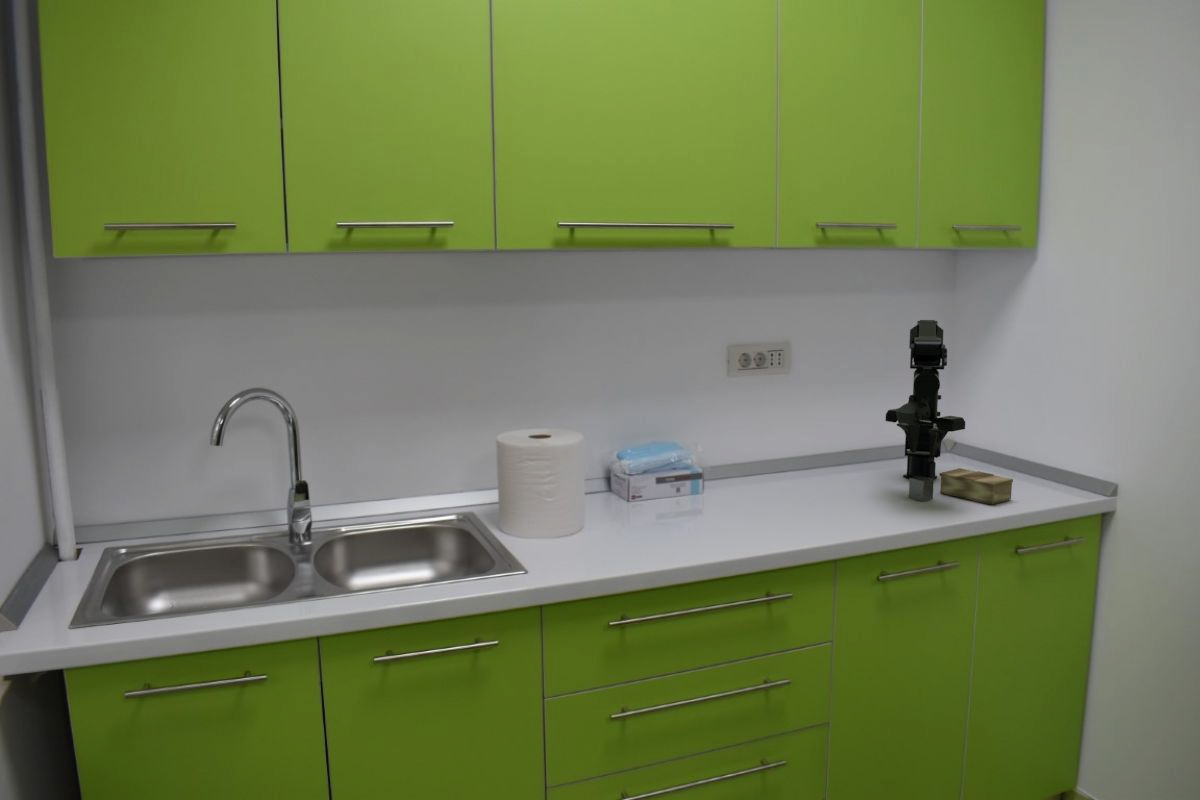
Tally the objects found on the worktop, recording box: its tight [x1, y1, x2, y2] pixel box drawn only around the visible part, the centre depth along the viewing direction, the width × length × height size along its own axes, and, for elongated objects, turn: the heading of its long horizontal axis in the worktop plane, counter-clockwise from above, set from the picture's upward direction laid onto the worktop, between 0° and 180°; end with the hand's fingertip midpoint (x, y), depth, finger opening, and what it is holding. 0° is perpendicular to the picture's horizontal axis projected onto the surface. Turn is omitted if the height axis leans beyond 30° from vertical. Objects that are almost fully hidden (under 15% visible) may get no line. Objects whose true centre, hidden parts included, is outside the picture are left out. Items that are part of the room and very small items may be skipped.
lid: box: [939, 467, 1014, 488], centre depth 215 cm, size 14×9×1 cm, turn 35°
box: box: [939, 476, 1013, 506], centre depth 215 cm, size 14×8×4 cm, turn 35°
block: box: [908, 476, 935, 502], centre depth 214 cm, size 4×4×5 cm
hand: (922, 454), depth 213 cm, fingers open, 5 cm apart
